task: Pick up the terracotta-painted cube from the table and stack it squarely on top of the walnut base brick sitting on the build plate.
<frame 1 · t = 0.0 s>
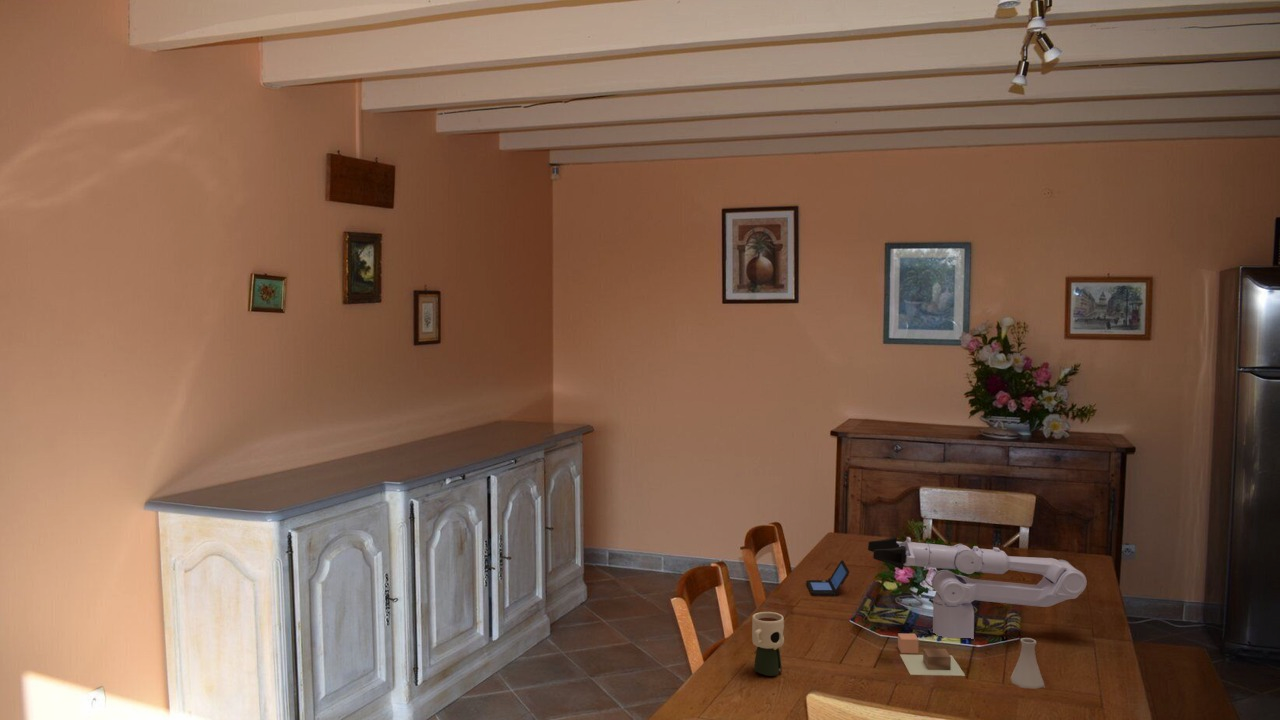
hand: (871, 550, 243), 22 cm above the table, tool horizontal, fingers open, 7 cm apart
handheld game console: (827, 591, 282), on the table
character mug: (767, 673, 222), on the table
walnut base brick: (936, 665, 224), point 1 cm above the table, touching build plate
flask: (1027, 685, 214), on the table
terracotta cube: (907, 652, 233), on the table
build plate: (931, 667, 224), on the table
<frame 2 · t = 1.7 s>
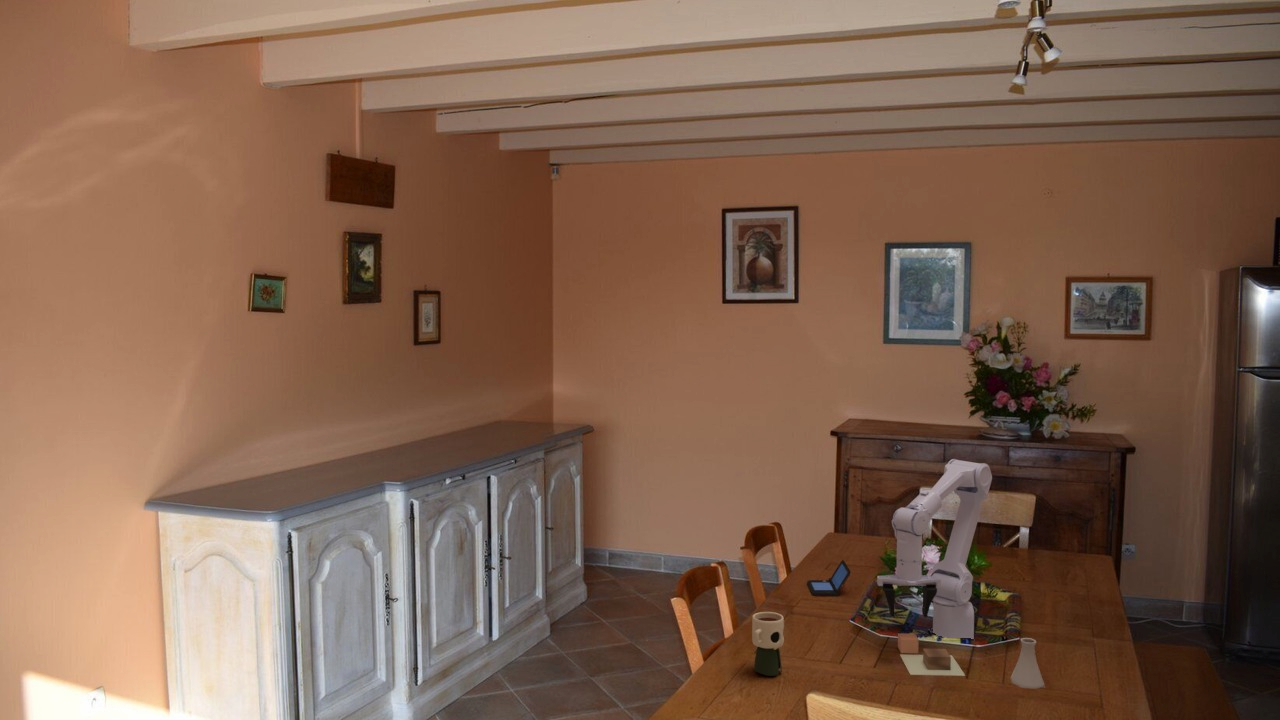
hand: (908, 615, 233), 9 cm above the table, tool pointing down, fingers open, 7 cm apart
nothing on the table moved.
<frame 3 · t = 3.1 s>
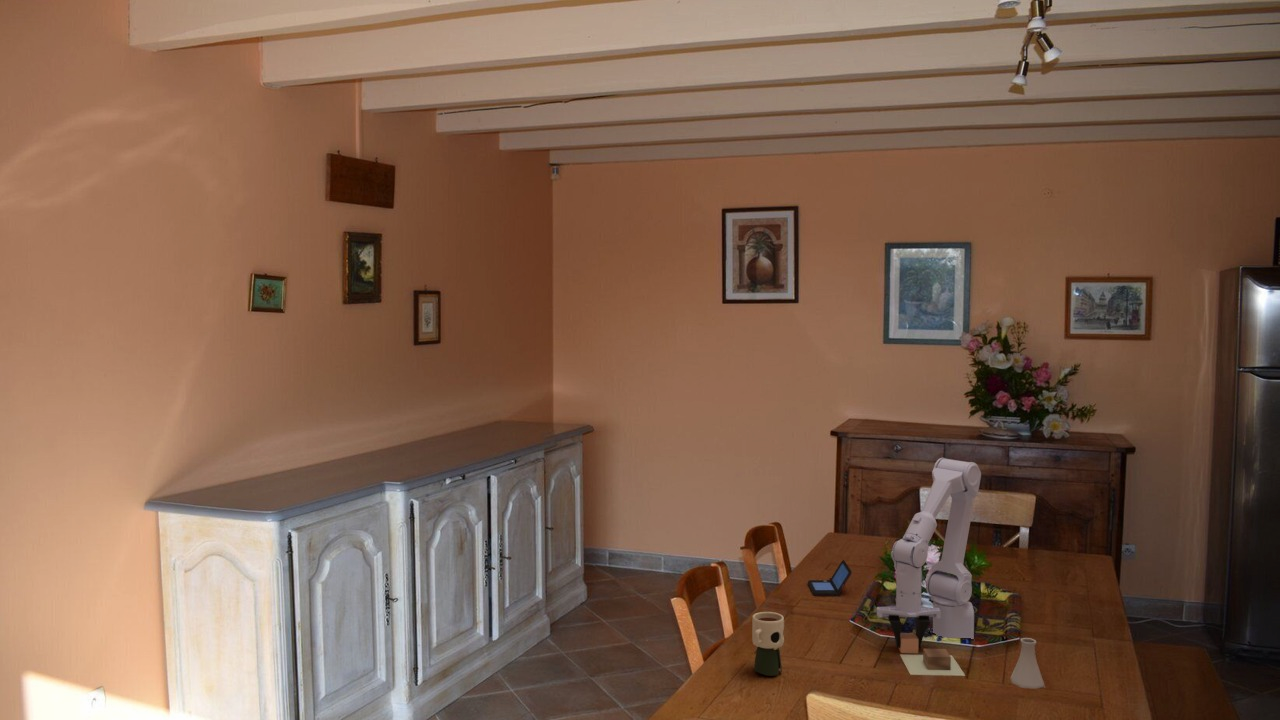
hand: (908, 646, 233), 1 cm above the table, tool pointing down, fingers closed on terracotta cube, 4 cm apart
terracotta cube: (907, 652, 233), on the table, touching gripper
everything else where it was.
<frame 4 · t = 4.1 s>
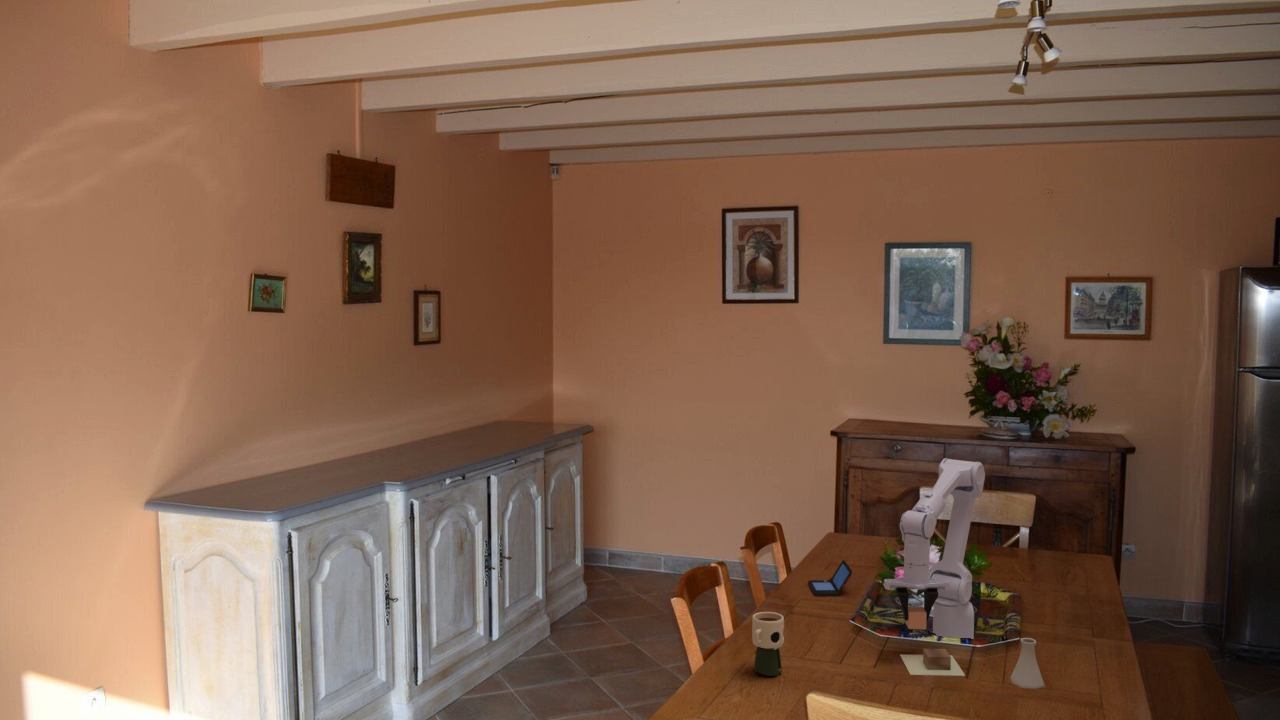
hand: (915, 619, 230), 9 cm above the table, tool pointing down, fingers closed on terracotta cube, 4 cm apart
terracotta cube: (915, 626, 230), point 7 cm above the table, touching gripper
everything else where it was.
when the fingers open (6 cm above the table, at t = 5.4 s): terracotta cube stays where it is, resting on walnut base brick.
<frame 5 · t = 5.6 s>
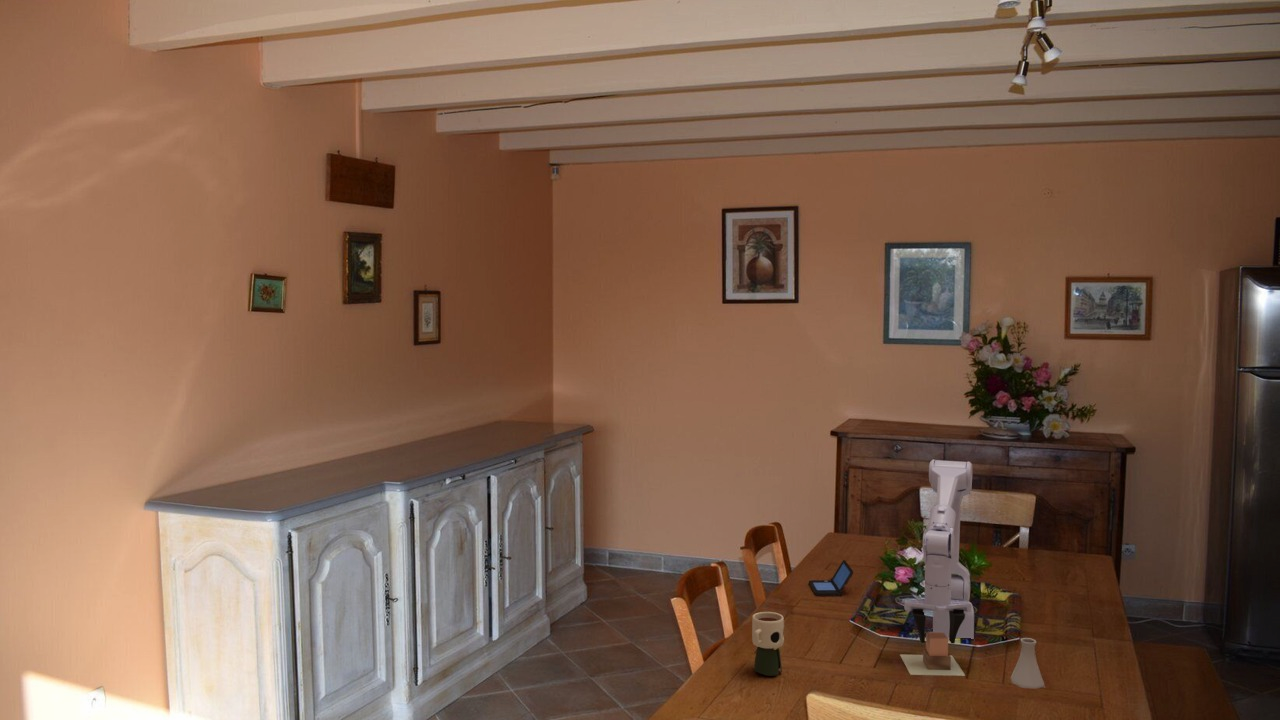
hand: (937, 641, 223), 6 cm above the table, tool pointing down, fingers open, 6 cm apart
walnut base brick: (936, 665, 224), point 1 cm above the table, touching build plate, terracotta cube
terracotta cube: (936, 652, 223), point 4 cm above the table, touching walnut base brick
everything else where it was.
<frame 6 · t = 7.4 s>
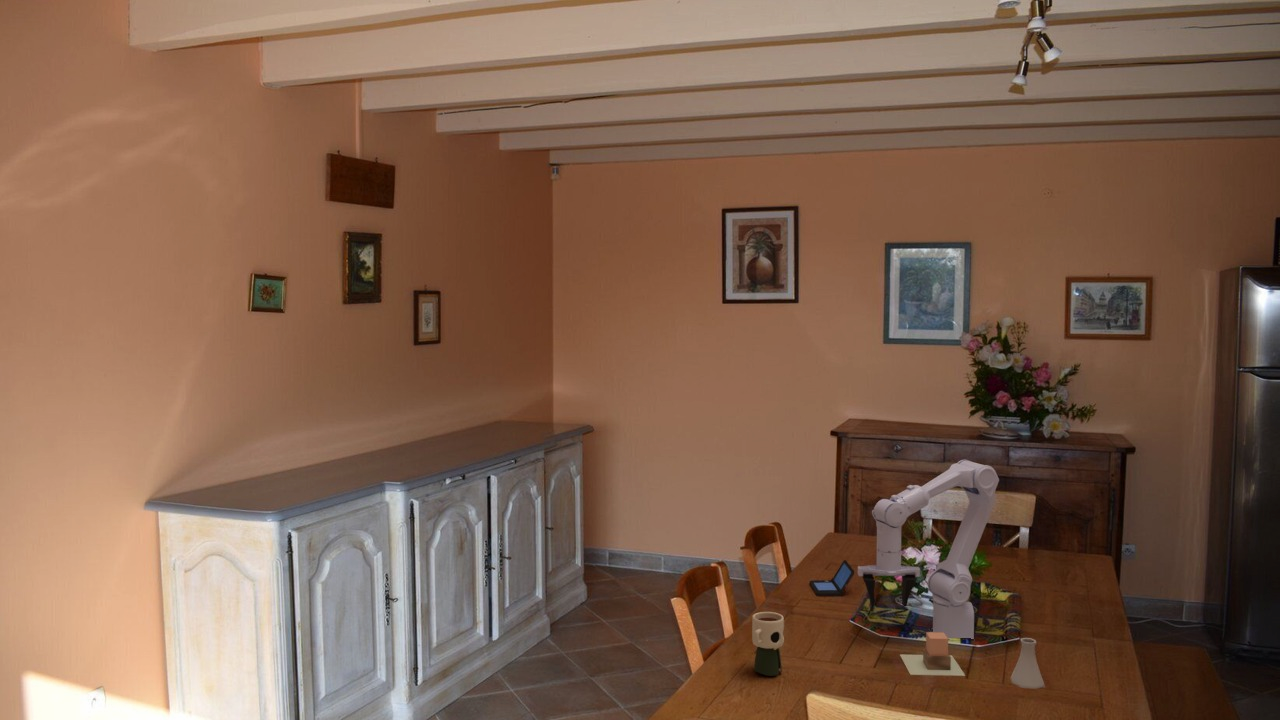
hand: (888, 604, 238), 10 cm above the table, tool pointing down, fingers open, 7 cm apart
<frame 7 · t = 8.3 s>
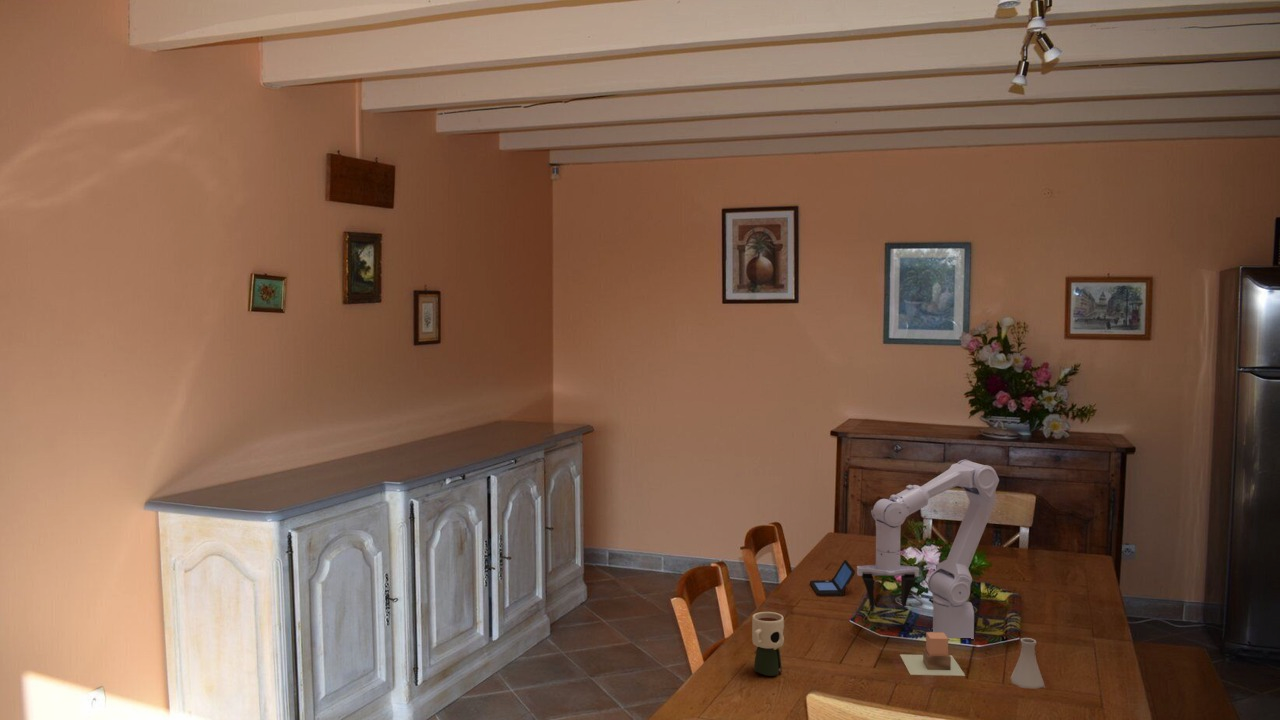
hand: (887, 604, 238), 10 cm above the table, tool pointing down, fingers open, 7 cm apart
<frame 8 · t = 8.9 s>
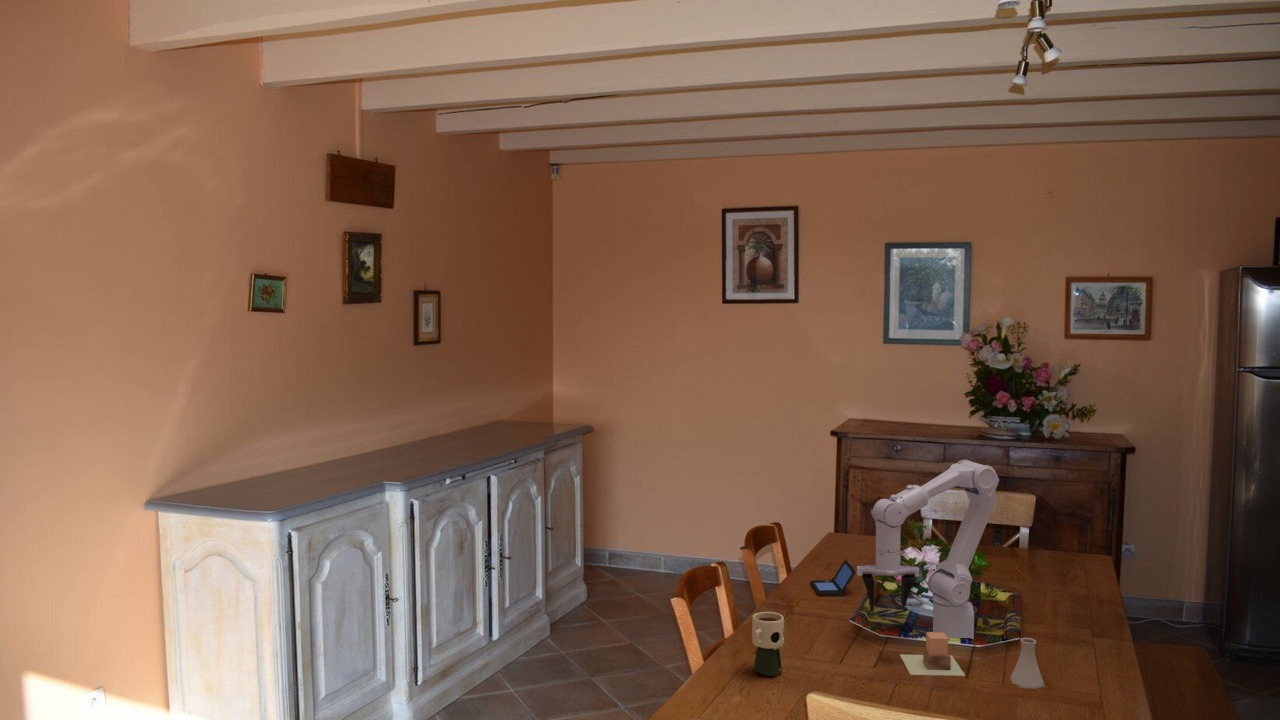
hand: (887, 604, 238), 10 cm above the table, tool pointing down, fingers open, 7 cm apart
at the end: terracotta cube 0.1 cm off-centre on the walnut base brick, point 3.0 cm above the walnut base brick's base; terracotta cube tilted 0°; the gripper is holding nothing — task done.
